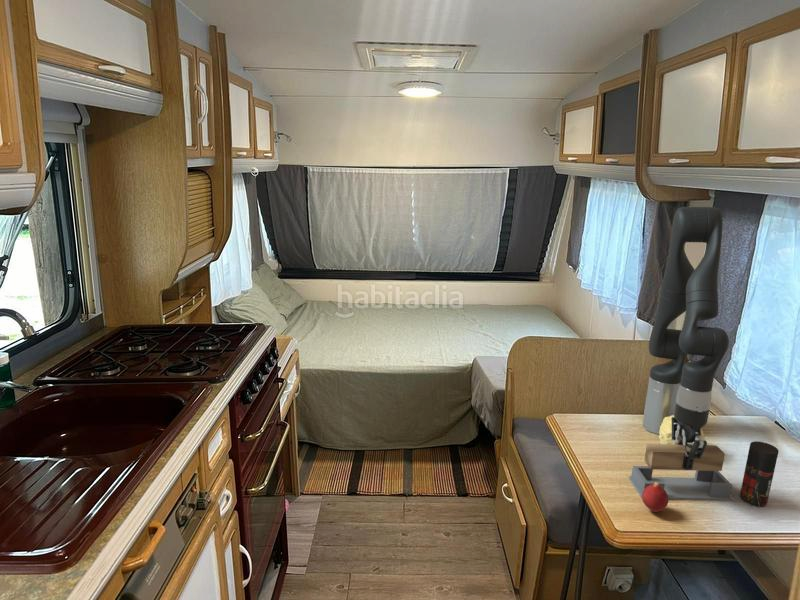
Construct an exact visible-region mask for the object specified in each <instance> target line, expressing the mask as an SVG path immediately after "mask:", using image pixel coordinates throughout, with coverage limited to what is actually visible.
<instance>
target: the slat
mask: <svg viewBox="0 0 800 600" xmlns="http://www.w3.org/2000/svg"><path fill="white" fill-rule="evenodd" d="M690 450H691V448H689V452H690ZM684 455H685V447H684V446H683V445H676V444H661V443H646V447H645V454H644V462H645V464H646V466H649V468H650V469H653V470H656V471H657V470H660V471H661V470H662V471H663V470H665V471H667V470H668V471H686V470H685V469H683V467H682V466H683V460H684ZM725 455H726V453H725V452H724V451H723V450H722V449H721V448H720V447H719V446H718V445H715V444H714V445H713V444H707V445H706V447H705V450H704V452H703V454H702V456H701V458H700V459H696V458H694V462H693V468H692V469H691V470H690V471H696V470H700V471H719V472H722V471H723V467H724V460H725Z"/></svg>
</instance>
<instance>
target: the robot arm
mask: <svg viewBox="0 0 800 600" xmlns="http://www.w3.org/2000/svg"><path fill="white" fill-rule="evenodd" d="M723 222H724V221H723V215H722V212H721V210H720V208H718V207H714V206H683V207H682V206H681V207H679V208H678V209H677V210H676V211H675V213H674V216H673V220H672V225H671V227H672V228H671V233H670V234H671V235H670V240H669V241H670V243H669V250H668V257H667V262H666V265H665V271H664V275H663V279H662V283H661V288H660V292H659V293H660V294H659V299H658V305H657V311H656V315H655V319H654V322H653V325H652V329H651V333H650V336H649V341H648V352H649V353H650V355H651V357H655V358H660V359H667V360H670V361H667V362H664V363H661V364H656V365H653V366H651V368H650V372H649V378H648V386H647V391H646V395H645V403H644V411H643V418H642V427H643V428H644V429H645V430H646V431H648V432H650V433H653V434H655V435H656V434H657V435H660V434H659V431H660V426H661V424H662V423H663V419H664V418H665V417H669V416H672V415H674V417H672V440H675V442H674V443H675V444H676V445H683V446H684V447H685V455H684V460H683V466H682V467H683V469H685V470H684V471H692V470H691V469H692V468H693V462H694V458H696V459H700V458H701V456H702V454H703V452H704V450H705V447H706V445H708V442H707V440H702V439H701V437H700V436H701V429H702V428H703V427H704V426H706V425H707V424H708V421H709V420H708V419H709V414H710V409H711V402H712V391H713V386H714V385H713V384H714V380H715V374H716V373H717V370H718V368H719V366H720V364H721V362H722V360H723V359H724V357H725V355H726V353H727V351H728V348H729V344H730V339H729V338H730V337H729V335H728V334H727V332H726V331H725V330H724V329H723V328H720V327H709V326H698V322H700V321H707V320H708V321H709V320H712V319H714V318H716V317H717V316H718V315H719V291H718V278H719V277H718V275H719V268H720V259H721V252H722V251H721V249H722V237H723ZM686 243H705V244H706V248H705V252H704V255H703V257H702V258H701V260H700V262H699V263H698V264H697V266H696V268H694V266H693V265H692V263H691V262H690V260H689V258H688V256H687V254H686V252H685V244H686ZM684 313H685V315H684V320H683V324H682V328H681V329H674V328H668V327H669V326H670V324H671V323H672V322H674V321H675V320H676V319H677V318H679V317H681V316H682V315H683V314H684ZM688 355H690V356H691V355H692V356H701V357H702V356H703V358H701V359H699V360H694V361H693V360H692V361H687V357H688ZM687 443H693V444H687ZM689 448H691V450H690V452H689Z"/></svg>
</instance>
